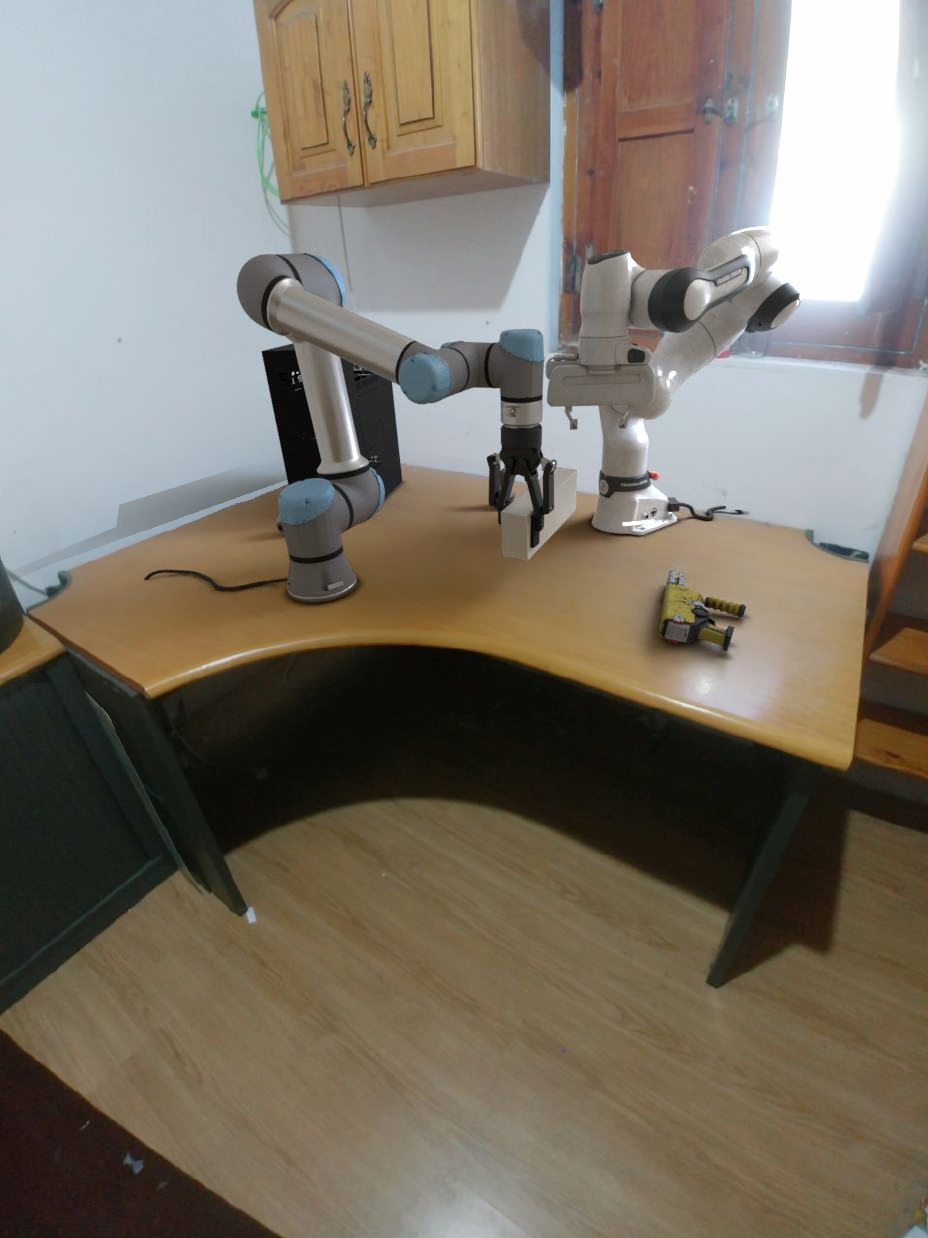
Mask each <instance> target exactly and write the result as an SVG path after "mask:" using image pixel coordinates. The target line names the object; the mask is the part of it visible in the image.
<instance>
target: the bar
mask: <svg viewBox="0 0 928 1238" xmlns="http://www.w3.org/2000/svg"><path fill="white" fill-rule="evenodd" d="M577 478H578V469H576V468H567V467H559V466H556V468H555V471H554V510H553V511H551V512H550V513H549V514H547V515H546V514H545V515H544V528H543V530H541V531H540V540H539V544H538V545H537V546H536V547H534V548H530V539H531V516H532V515H533V514H534V510H533V506H532V502H531V498H530V494H529V490H528V488H527V489H526V490H525V491H524V492H522V493H521V494H520V495H519V496H517V497H516V498H514V501H513V502H512V503H511V504H510V505H508V506H507V507H506V508H505V509H504V510H503V511H501V525H500V527H501V547H502V556H503V557H507V558H512V559H518V560H522V561H529V560H530V559H531V558H532V557H533V556H534V555H535V554H536V553H537V552H538V551H539V550H540V549H541V547H542V546H543V545H544V544H545V543H546V542H547V541H548V540H549V539H550V538H551V537H552V536H553V535H554V534H555V533H556V532H557V531H558V530H559V529H560V528H561V526H563V525H564V524H565V523H566V522H567V520H568V519H569V518H570V517H571V516H572V515H573V514H574V513H575V512H576V511H577V485H578V483H577V481H578V479H577ZM538 481H539V485H540V489H541V493H542V497H543V475H542V476H541V477H540V478H538Z"/></svg>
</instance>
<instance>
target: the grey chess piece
mask: <svg viewBox="0 0 928 1238" xmlns="http://www.w3.org/2000/svg"><path fill="white" fill-rule="evenodd" d="M505 469H506V467H505V465H504V466H503V468H502V469H500V492H501V488H502V485H503V481H504V473H505ZM516 495H517V493H515V492H514V491H513V490H512V491H511V494H510V498H509V501H508V504H509V505H510V504H511V503H512V502H513V501H514V500H515V499H516ZM507 506H508V505H507ZM507 506H506V507H507Z"/></svg>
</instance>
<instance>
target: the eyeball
mask: <svg viewBox="0 0 928 1238" xmlns="http://www.w3.org/2000/svg"><path fill="white" fill-rule="evenodd" d="M275 527H276V529H277V530H278V531H279V532H280V533H281V534H282V535H284V531H283V527H282V523H281V519H280V516H279V515H278V516H277V517H276V520H275Z"/></svg>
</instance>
